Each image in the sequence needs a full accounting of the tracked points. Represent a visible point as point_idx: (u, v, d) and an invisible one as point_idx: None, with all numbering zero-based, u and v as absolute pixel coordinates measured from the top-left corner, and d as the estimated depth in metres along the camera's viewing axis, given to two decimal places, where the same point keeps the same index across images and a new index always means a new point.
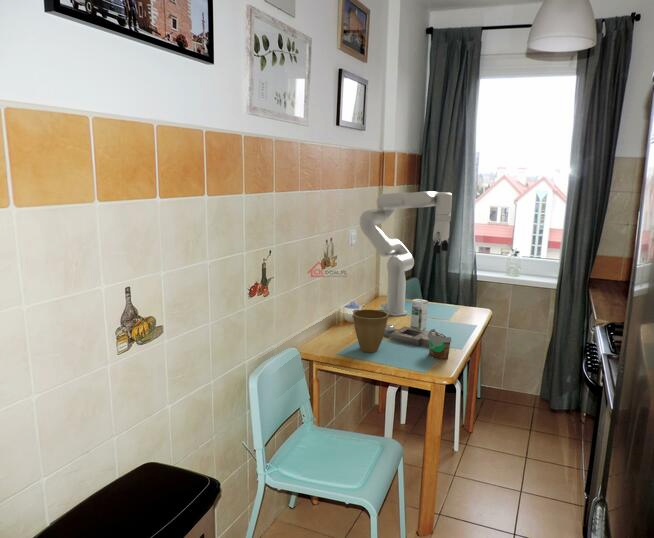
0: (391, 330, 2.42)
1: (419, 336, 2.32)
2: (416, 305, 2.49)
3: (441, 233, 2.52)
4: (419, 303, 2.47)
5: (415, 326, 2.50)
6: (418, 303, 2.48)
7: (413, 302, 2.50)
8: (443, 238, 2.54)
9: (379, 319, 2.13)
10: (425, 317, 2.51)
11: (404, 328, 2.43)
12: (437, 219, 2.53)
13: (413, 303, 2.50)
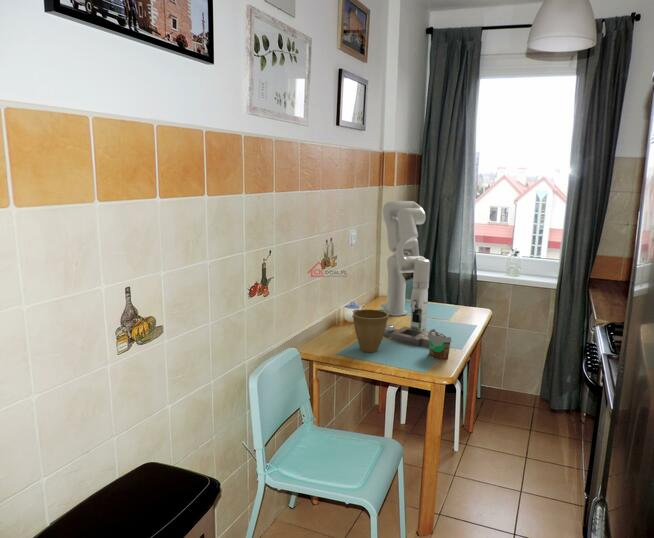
0: (391, 330, 2.42)
1: (419, 336, 2.32)
2: None
3: (418, 301, 2.45)
4: None
5: (415, 326, 2.50)
6: None
7: None
8: (420, 306, 2.47)
9: (379, 319, 2.13)
10: (425, 317, 2.51)
11: (404, 328, 2.43)
12: (414, 286, 2.47)
13: None
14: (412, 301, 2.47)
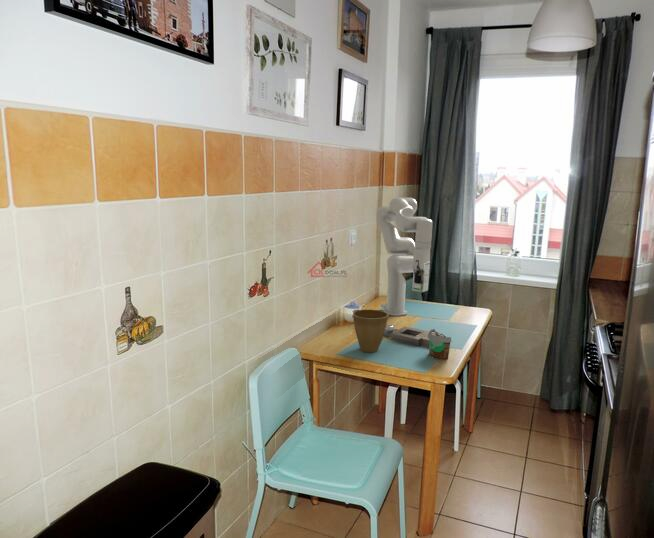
0: (391, 330, 2.42)
1: (419, 336, 2.32)
2: None
3: (420, 262, 2.42)
4: None
5: (417, 287, 2.47)
6: None
7: None
8: None
9: (379, 319, 2.13)
10: (427, 278, 2.48)
11: (404, 328, 2.43)
12: (417, 247, 2.43)
13: None
14: (414, 261, 2.43)
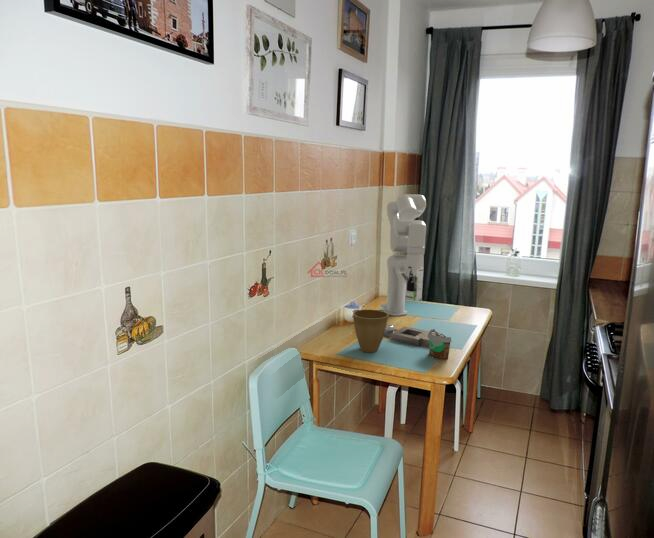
0: (391, 330, 2.42)
1: (419, 336, 2.32)
2: None
3: (413, 268, 2.26)
4: None
5: (410, 295, 2.31)
6: None
7: None
8: None
9: (379, 319, 2.13)
10: (421, 286, 2.32)
11: (404, 328, 2.43)
12: (409, 252, 2.28)
13: None
14: (407, 268, 2.28)
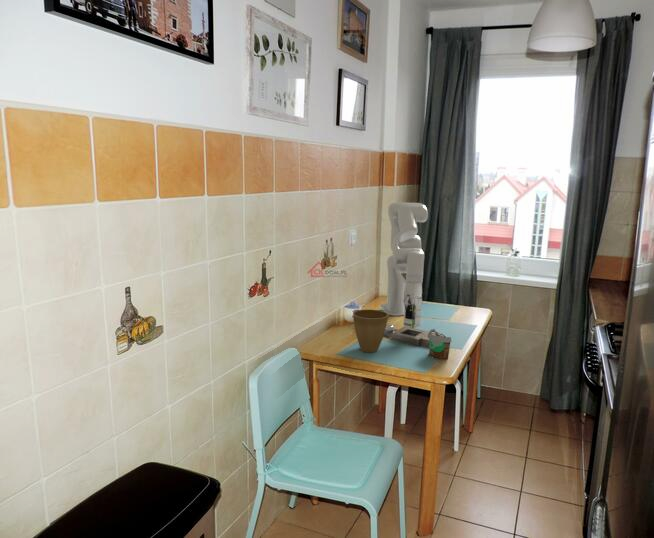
0: (391, 330, 2.42)
1: (419, 336, 2.32)
2: None
3: (412, 296, 2.29)
4: None
5: (409, 323, 2.34)
6: None
7: None
8: (414, 301, 2.31)
9: (379, 319, 2.13)
10: (419, 313, 2.35)
11: (404, 328, 2.43)
12: (407, 281, 2.30)
13: None
14: (405, 296, 2.30)
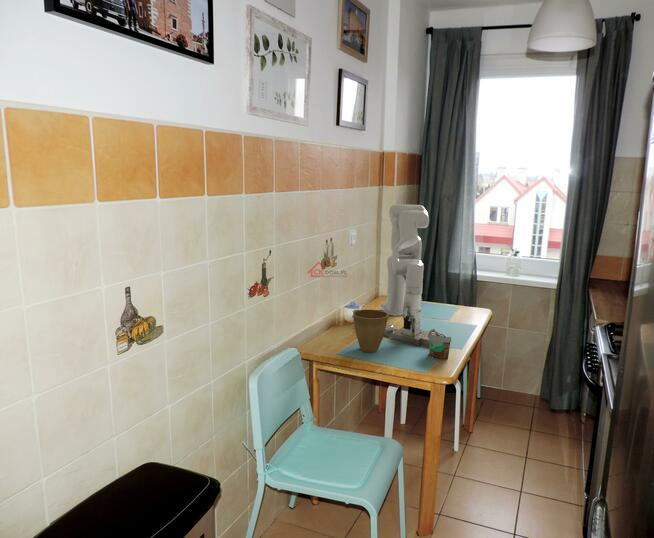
0: (391, 330, 2.42)
1: (419, 336, 2.32)
2: None
3: (411, 308, 2.30)
4: None
5: None
6: None
7: None
8: (413, 313, 2.32)
9: (379, 319, 2.13)
10: (418, 326, 2.36)
11: None
12: (407, 292, 2.31)
13: None
14: (404, 307, 2.31)
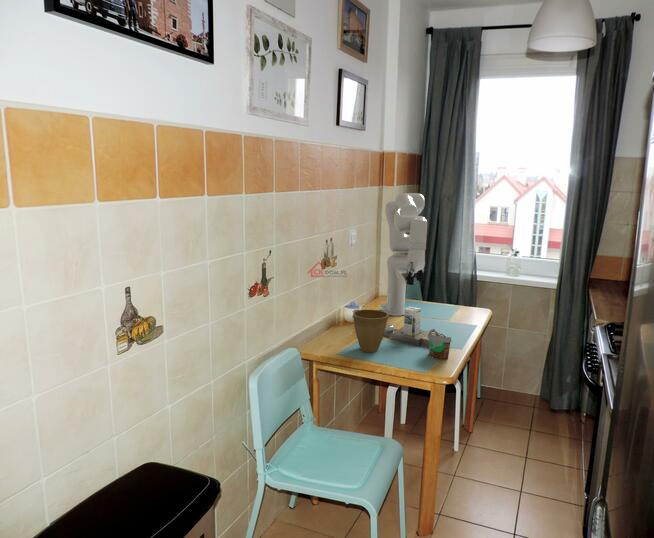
0: (391, 330, 2.42)
1: (419, 336, 2.32)
2: (409, 314, 2.34)
3: (414, 263, 2.30)
4: (412, 311, 2.32)
5: None
6: (411, 311, 2.33)
7: (406, 310, 2.35)
8: (417, 268, 2.32)
9: (379, 319, 2.13)
10: (418, 326, 2.36)
11: None
12: (410, 248, 2.32)
13: (406, 311, 2.35)
14: (408, 263, 2.32)
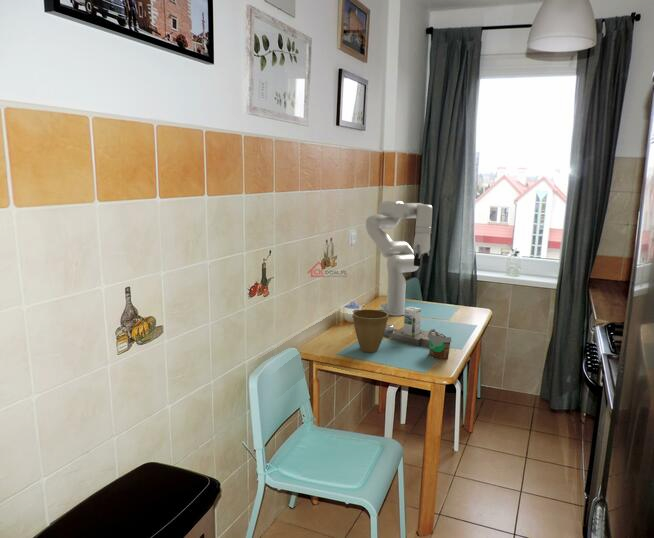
0: (391, 330, 2.42)
1: (419, 336, 2.32)
2: (409, 314, 2.34)
3: (421, 246, 2.49)
4: (412, 311, 2.32)
5: None
6: (411, 311, 2.33)
7: (406, 310, 2.35)
8: (423, 251, 2.51)
9: (379, 319, 2.13)
10: (418, 326, 2.36)
11: None
12: (417, 232, 2.50)
13: (406, 311, 2.35)
14: (415, 246, 2.51)
